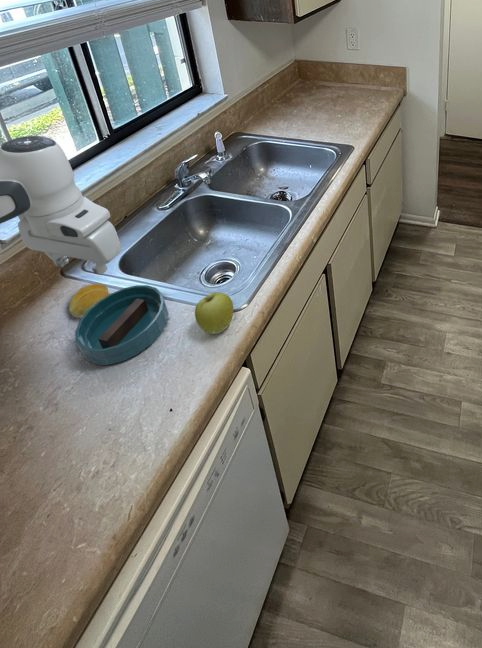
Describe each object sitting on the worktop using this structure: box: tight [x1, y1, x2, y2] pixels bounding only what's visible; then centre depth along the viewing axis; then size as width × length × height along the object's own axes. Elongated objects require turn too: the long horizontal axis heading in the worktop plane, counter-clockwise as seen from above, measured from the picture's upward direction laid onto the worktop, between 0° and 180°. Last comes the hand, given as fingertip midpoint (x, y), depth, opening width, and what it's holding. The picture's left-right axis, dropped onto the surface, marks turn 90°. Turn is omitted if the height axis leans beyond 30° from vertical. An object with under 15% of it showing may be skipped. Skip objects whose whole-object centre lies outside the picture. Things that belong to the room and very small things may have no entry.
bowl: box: [74, 284, 169, 366], centre depth 100 cm, size 17×17×5 cm
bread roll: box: [68, 283, 111, 320], centre depth 107 cm, size 8×9×4 cm
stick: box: [98, 298, 148, 349], centre depth 100 cm, size 11×2×4 cm, turn 167°
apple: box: [194, 291, 234, 335], centre depth 100 cm, size 8×8×10 cm
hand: (82, 268), depth 89 cm, fingers open, 8 cm apart
